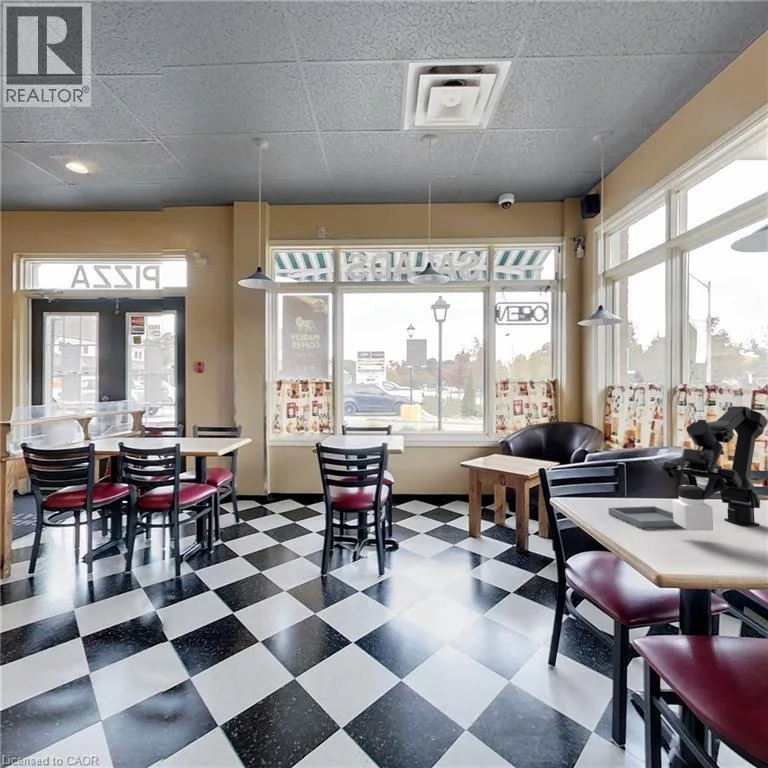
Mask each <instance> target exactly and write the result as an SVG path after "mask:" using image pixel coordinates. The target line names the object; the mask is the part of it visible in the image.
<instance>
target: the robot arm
mask: <svg viewBox="0 0 768 768" xmlns="http://www.w3.org/2000/svg"><path fill="white" fill-rule="evenodd" d="M767 421H768V419H767V418H766V416H764V415H763V413H761V412H758V411H756V410H753V409H751V408H750V407H748V406H742V405H741V406H740V405H739V406H738V405H736V406H735V405H734V406H733V405H732V406H729V407H728V409H727V411H725V413H723V414H722V415H721V417H719V418H718V419H717V420H715V421H710V422H707V419H697V421H696V422H695V421H694V422H692V423H690V424H689V425H687V427H686V432H687V434H688V435H689V437H690V439H691V440H692V442H693V444H694V445H695V446H696V447H697V448H696V449H693V448H692V449H689V448H683V450H682V451H683V452H682V456H681V459H682V460H684V461H686V463H685V464H686V466H687V467H683V466H681V464H680V462H673V461H664V462H663V464H662V466H661V468H662V469H663V471H664V473H665V474H666V475H667V478H670V479H673V480H676V482H675V483H676V493H677V495H678V496H679V490H678V487H679V486H682V485H688V480H687V478H686V476H692V477H696V478H702V479H707V480H708V482H707V484H706V486H705V488H704V489H703V490H704V492H703V495H702V498H703V499H704V501H705V500H707V499H708V498H709V497H711V496H713V495H714V494H717V493H718V492H720V493H719V494H720V498H721V502H722V503H723V504H724V503H725V504H727V518H725V517H724V521H726V522H730V523H732V524H736V525H738V524H739V526H741V525H743V527H744V525H751V526H760V523H759V522H756V521H755V509H761V499H760V497H759V496H758V494H757V492H756V489H755V488H756V487H755V486H754V484H753V482H752V481H751V479H750V478H751V470H752V463H753V458H754V457H753V456H754V451H755V445H756V440H757V439H758V438H759V437H760V436H762V435H763V434H764V431H765V428H766V427H767V424H768V423H767ZM734 431H735V432H736V434H737V436H736V443H735V449H734V456H733V460H732V466H731V467H732V468H731V469H730V468H729V469H728V468H722V467H721V468H720V467H719V464H718V463H719V459H720V457H721V455H722V456H723V455H724V454H725V453H724V447H723V445H722V444H721V443H724V444H729V443H730V442H732V441H731V440H733V437H734V436H735V433H734ZM715 469H717V471H716V472H715Z"/></svg>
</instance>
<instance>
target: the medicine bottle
mask: <svg viewBox="0 0 768 768" xmlns="http://www.w3.org/2000/svg"><path fill="white" fill-rule="evenodd" d="M678 490H679V495H678V498H676V499H674V498H673V499H672V513H673V521H674V522H675V523H676V524H678V525H680V526H681V527H680V528H683V529H684V530H689V531H691V530H692V531H693V530H694V531H714V521H713V506H711V505H709V504H708V503H705V500H704V499H703V498H702V495H703V492H704V490H705V489H703V488H702V487H701V486H697V485H690V484H689V485H688V484H686V485H682V486H679V487H678Z"/></svg>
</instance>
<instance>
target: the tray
mask: <svg viewBox="0 0 768 768" xmlns="http://www.w3.org/2000/svg"><path fill="white" fill-rule="evenodd" d="M609 514H610V516H611V515H612V517H613V516H614V517H613V518H615V517H617V518H616V519H618V518H619V519H618V520H620V519H621V521H622V520H623V521H622V522H624V521H626V522H628V523H627V524H629V523H630V524H629V525H631V524H632V525H631V526H633V525H635V526H637V527H639V528H638V529H640V528H655V529H674V528H675V529H677V527H680V528H682V527H681V526H680V525H678V524H676V523H675V522H674V521H673V511H669V510H666V509H663V508H660V507H657V506H656V505H655V506H654V505H649V506H647V505H645V506H643V505H642V506H619V507H608V515H609ZM626 522H625V523H626ZM635 526H634V527H635ZM637 527H636V528H637Z"/></svg>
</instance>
